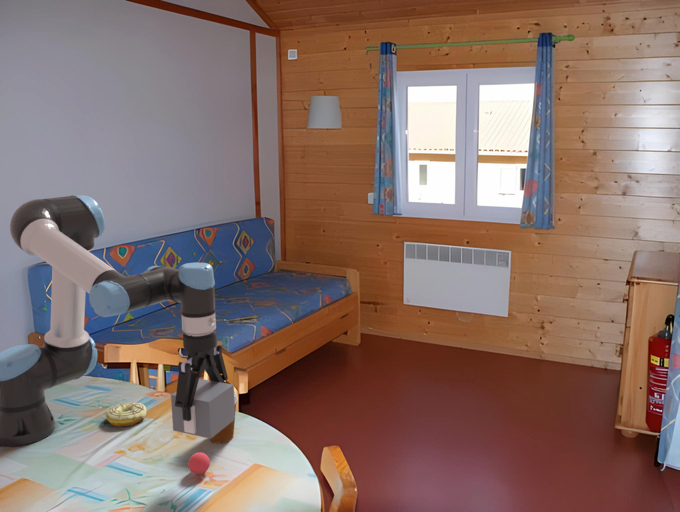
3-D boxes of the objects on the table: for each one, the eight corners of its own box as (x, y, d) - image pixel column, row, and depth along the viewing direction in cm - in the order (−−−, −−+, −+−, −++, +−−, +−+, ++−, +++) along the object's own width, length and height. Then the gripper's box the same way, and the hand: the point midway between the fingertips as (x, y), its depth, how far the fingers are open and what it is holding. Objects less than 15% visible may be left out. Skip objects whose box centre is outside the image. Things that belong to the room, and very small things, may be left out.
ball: (205, 470, 145) (194, 482, 147) (217, 460, 150) (206, 471, 152) (191, 454, 146) (180, 466, 148) (203, 444, 150) (193, 456, 152)
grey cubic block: (173, 430, 143) (170, 394, 141) (199, 412, 152) (197, 378, 150) (210, 438, 139) (208, 402, 137) (235, 419, 148) (233, 384, 147)
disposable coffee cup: (231, 447, 161) (229, 404, 158) (197, 444, 163) (195, 401, 160) (244, 430, 170) (243, 389, 168) (211, 427, 172) (209, 386, 169)
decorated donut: (153, 420, 177) (152, 408, 176) (116, 432, 170) (115, 419, 169) (137, 408, 184) (136, 396, 184) (101, 419, 177) (100, 407, 177)
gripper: (182, 349, 129) (188, 447, 134) (240, 319, 150) (243, 404, 155) (153, 345, 132) (159, 441, 137) (213, 315, 153) (217, 399, 157)
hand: (204, 421), depth 146 cm, fingers closed on grey cubic block, 10 cm apart
